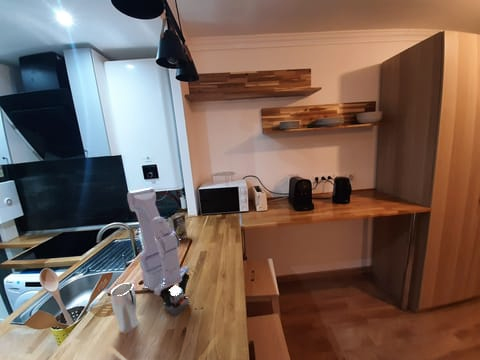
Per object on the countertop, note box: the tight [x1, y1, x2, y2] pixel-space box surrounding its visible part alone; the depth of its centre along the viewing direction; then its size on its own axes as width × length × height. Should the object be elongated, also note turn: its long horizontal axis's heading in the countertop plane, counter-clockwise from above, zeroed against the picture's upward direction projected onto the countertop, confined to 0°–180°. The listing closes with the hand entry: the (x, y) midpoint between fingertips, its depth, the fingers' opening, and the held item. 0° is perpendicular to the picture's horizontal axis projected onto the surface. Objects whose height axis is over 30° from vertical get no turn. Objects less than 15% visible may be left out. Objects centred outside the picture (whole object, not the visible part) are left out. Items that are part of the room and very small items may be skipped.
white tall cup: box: [110, 282, 139, 334], centre depth 68 cm, size 7×7×15 cm
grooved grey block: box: [168, 285, 185, 307], centre depth 74 cm, size 5×4×7 cm
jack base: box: [163, 294, 190, 317], centre depth 75 cm, size 18×14×5 cm
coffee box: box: [167, 213, 188, 239], centre depth 134 cm, size 9×6×16 cm
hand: (175, 299), depth 75 cm, fingers open, 6 cm apart
